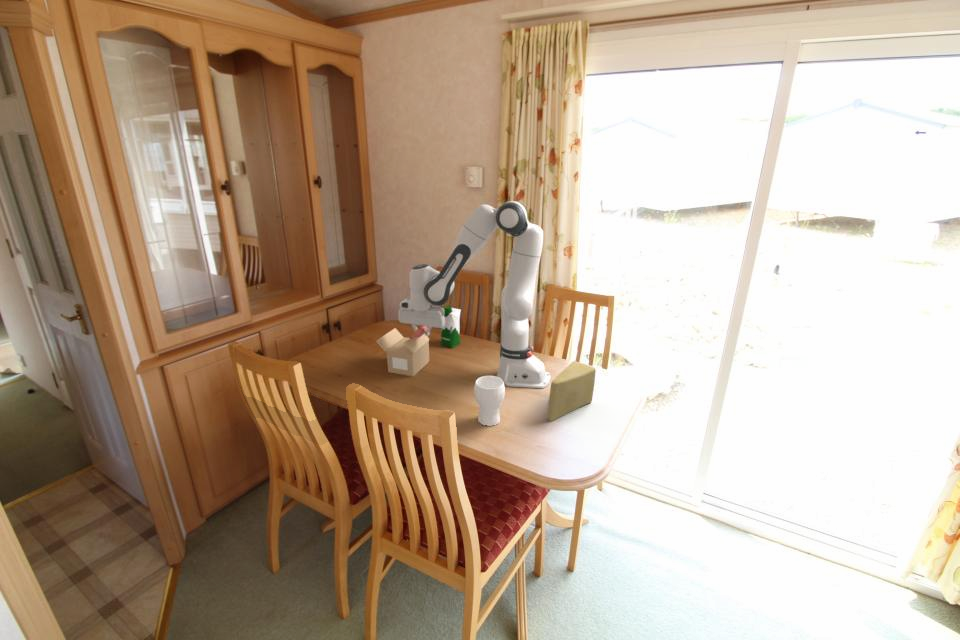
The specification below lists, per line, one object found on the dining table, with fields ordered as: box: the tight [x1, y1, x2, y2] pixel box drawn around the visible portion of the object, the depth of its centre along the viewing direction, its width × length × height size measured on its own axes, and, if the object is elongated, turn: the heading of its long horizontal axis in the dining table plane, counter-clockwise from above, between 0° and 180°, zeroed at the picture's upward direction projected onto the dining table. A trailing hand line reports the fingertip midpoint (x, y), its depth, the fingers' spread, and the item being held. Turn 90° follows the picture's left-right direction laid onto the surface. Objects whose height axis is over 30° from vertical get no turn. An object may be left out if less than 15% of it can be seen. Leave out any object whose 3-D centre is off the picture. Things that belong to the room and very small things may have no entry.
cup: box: [473, 375, 506, 427], centre depth 150 cm, size 11×11×15 cm
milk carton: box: [440, 305, 462, 349], centre depth 212 cm, size 9×9×20 cm
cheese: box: [547, 360, 597, 422], centre depth 157 cm, size 22×10×15 cm, turn 137°
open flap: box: [375, 327, 405, 353], centre depth 190 cm, size 6×16×1 cm
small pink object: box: [404, 326, 430, 354], centre depth 185 cm, size 7×16×7 cm
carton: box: [386, 336, 430, 377], centre depth 190 cm, size 12×16×10 cm
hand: (422, 334), depth 184 cm, fingers open, 3 cm apart
